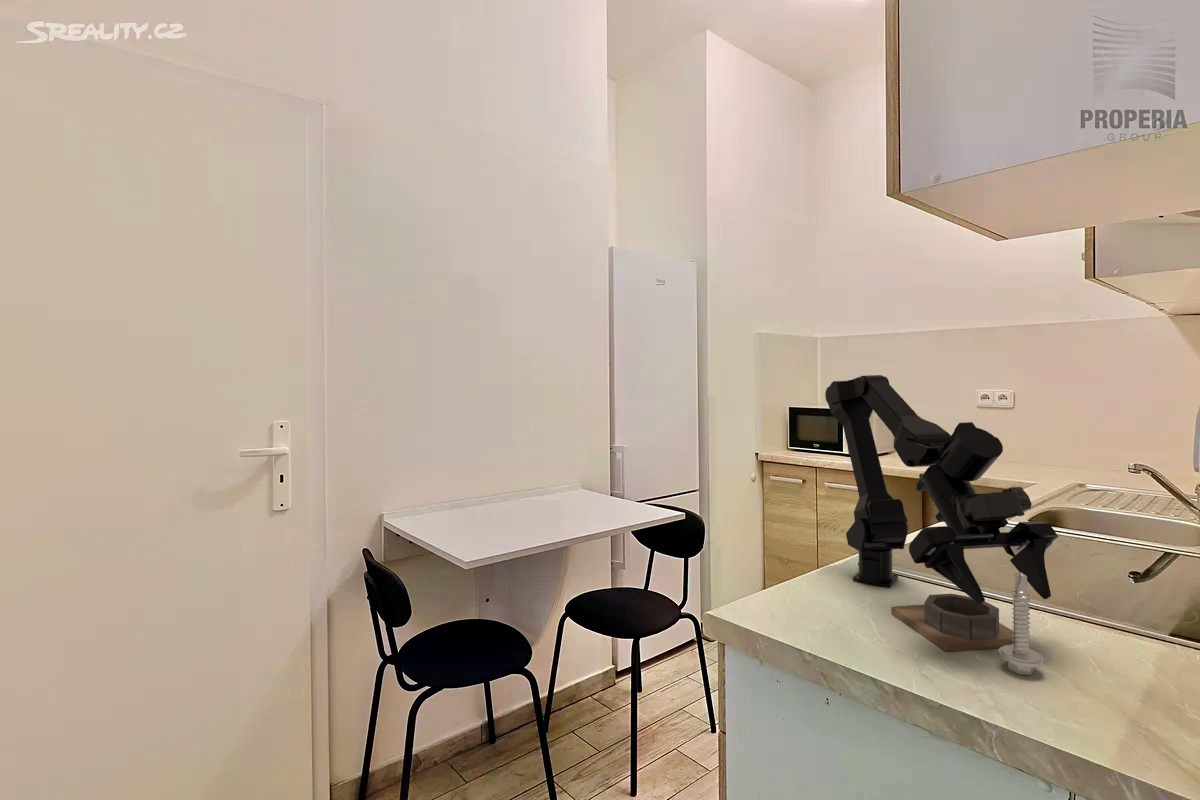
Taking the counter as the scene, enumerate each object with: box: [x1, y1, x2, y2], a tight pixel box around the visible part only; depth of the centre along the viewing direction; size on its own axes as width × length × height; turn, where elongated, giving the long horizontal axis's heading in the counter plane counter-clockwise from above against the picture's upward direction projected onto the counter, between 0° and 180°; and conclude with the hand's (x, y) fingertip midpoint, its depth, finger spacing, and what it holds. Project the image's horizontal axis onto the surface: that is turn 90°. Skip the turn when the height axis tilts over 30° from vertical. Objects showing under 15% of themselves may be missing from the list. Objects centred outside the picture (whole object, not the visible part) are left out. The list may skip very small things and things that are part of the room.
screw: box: [997, 572, 1045, 676], centre depth 75 cm, size 13×5×5 cm
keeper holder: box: [890, 593, 1014, 653], centre depth 88 cm, size 13×12×4 cm
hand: (1015, 600), depth 76 cm, fingers open, 9 cm apart
